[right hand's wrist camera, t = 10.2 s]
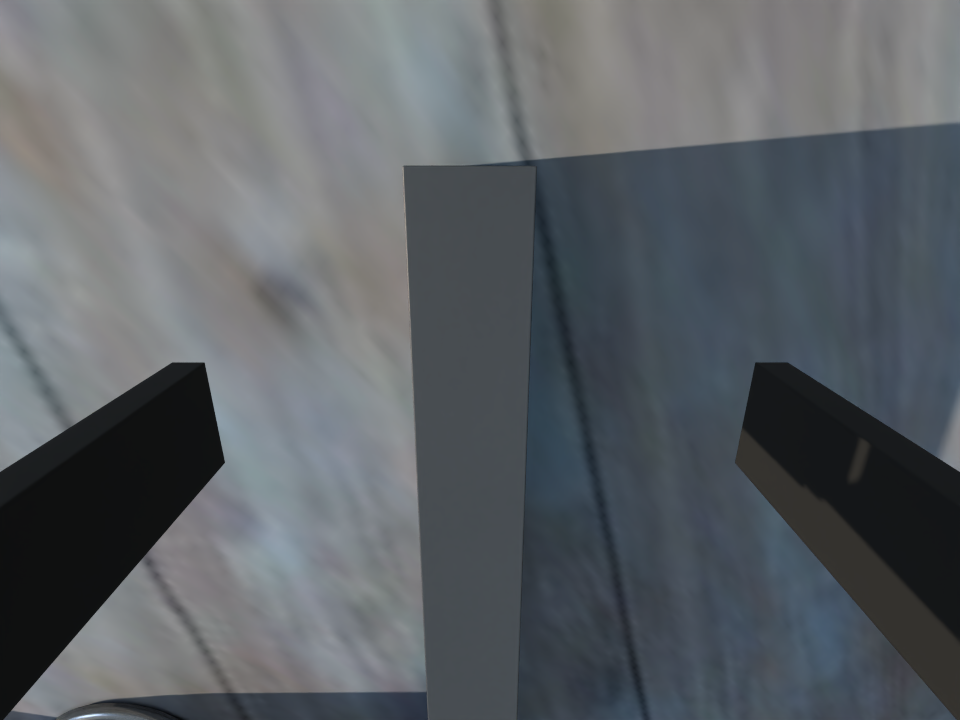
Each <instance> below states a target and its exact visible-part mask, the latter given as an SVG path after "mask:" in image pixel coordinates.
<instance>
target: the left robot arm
mask: <svg viewBox="0 0 960 720" xmlns="http://www.w3.org/2000/svg"><path fill="white" fill-rule="evenodd" d="M55 720H179V719H177V718H175V717H173V716H171V715H169V714H166V713H164V712H161V711H158V710H155V709H152V708H148V707H144V706H139V705H133V704H125V703H100V704H92V705H87V706H83V707H79V708H76V709H73V710H71V711H68V712H66V713H64V714H63V715H61V716H59V717H58V718H56V719H55Z"/></svg>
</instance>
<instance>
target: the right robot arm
mask: <svg viewBox="0 0 960 720" xmlns="http://www.w3.org/2000/svg"><path fill="white" fill-rule="evenodd" d="M224 463H225V461H224V456H223V451H222V446H221V441H220V436H219V431H218V426H217V421H216V417H215V412H214V407H213V402H212V397H211V392H210V387H209V382H208V377H207V372H206V368H205V363H171V364H169V365H168V366H166V367H165V368H163V369H161V370H160V371H158V372H157V373H155V374H154V375H152V376H150V377H149V378H147V379H146V380H144V381H143V382H141V383H139V384H138V385H136V386H135V387H133V388H132V389H130V390H128V391H127V392H125V393H124V394H122V395H121V396H119V397H117V398H116V399H114V400H113V401H111V402H110V403H108V404H106V405H105V406H103V407H102V408H100V409H99V410H97V411H95V412H94V413H92V414H91V415H89V416H88V417H86V418H84V419H83V420H81V421H80V422H78V423H77V424H75V425H73V426H72V427H70V428H69V429H67V430H66V431H64V432H62V433H61V434H59V435H58V436H56V437H55V438H53V439H51V440H50V441H48V442H47V443H45V444H44V445H42V446H40V447H39V448H37V449H36V450H34V451H33V452H31V453H29V454H28V455H26V456H25V457H23V458H22V459H20V460H18V461H17V462H15V463H14V464H12V465H11V466H9V467H7V468H6V469H4V470H3V471H1V472H0V720H3V719H4V718H5V717H6V716H7V715H8V714H9V712H10V711H11V710H12V709H13V708H14V707H15V705H16V704H17V703H18V702H19V701H20V700H21V698H22V697H23V696H24V695H25V694H26V693H27V692H28V690H29V689H30V688H31V687H32V686H33V685H34V683H35V682H36V681H37V680H38V679H39V678H40V676H41V675H42V674H43V673H44V672H45V671H46V670H47V668H48V667H49V666H50V665H51V664H52V663H53V661H54V660H55V659H56V658H57V657H58V656H59V654H60V653H61V652H62V651H63V650H64V649H65V647H66V646H67V645H68V644H69V643H70V642H71V641H72V639H73V638H74V637H75V636H76V635H77V634H78V632H79V631H80V630H81V629H82V628H83V627H84V625H85V624H86V623H87V622H88V621H89V620H90V619H91V617H92V616H93V615H94V614H95V613H96V612H97V610H98V609H99V608H100V607H101V606H102V605H103V603H104V602H105V601H106V600H107V599H108V598H109V596H110V595H111V594H112V593H113V592H114V591H115V590H116V588H117V587H118V586H119V585H120V584H121V583H122V581H123V580H124V579H125V578H126V577H127V576H128V574H129V573H130V572H131V571H132V570H133V569H134V567H135V566H136V565H137V564H138V563H139V562H140V561H141V559H142V558H143V557H144V556H145V555H146V554H147V552H148V551H149V550H150V549H151V548H152V547H153V545H154V544H155V543H156V542H157V541H158V540H159V539H160V537H161V536H162V535H163V534H164V533H165V532H166V530H167V529H168V528H169V527H170V526H171V525H172V523H173V522H174V521H175V520H176V519H177V518H178V516H179V515H180V514H181V513H182V512H183V511H184V510H185V508H186V507H187V506H188V505H189V504H190V503H191V501H192V500H193V499H194V498H195V497H196V496H197V494H198V493H199V492H200V491H201V490H202V489H203V487H204V486H205V485H206V484H207V483H208V482H209V481H210V479H211V478H212V477H213V476H214V475H215V474H216V472H217V471H218V470H219V469H220V468H221V467H222V465H223V464H224ZM735 463H736V464H737V465H738V467H739V468H740V469H741V470H742V471H743V472H744V474H745V475H746V476H747V477H748V478H749V479H750V481H751V482H752V483H753V484H754V485H755V486H756V487H757V489H758V490H759V491H760V492H761V493H762V494H763V496H764V497H765V498H766V499H767V500H768V501H769V503H770V504H771V505H772V506H773V507H774V508H775V510H776V511H777V512H778V513H779V514H780V515H781V516H782V518H783V519H784V520H785V521H786V522H787V523H788V525H789V526H790V527H791V528H792V529H793V530H794V532H795V533H796V534H797V535H798V536H799V537H800V539H801V540H802V541H803V542H804V543H805V544H806V545H807V547H808V548H809V549H810V550H811V551H812V552H813V554H814V555H815V556H816V557H817V558H818V559H819V561H820V562H821V563H822V564H823V565H824V566H825V567H826V569H827V570H828V571H829V572H830V573H831V574H832V576H833V577H834V578H835V579H836V580H837V581H838V583H839V584H840V585H841V586H842V587H843V588H844V590H845V591H846V592H847V593H848V594H849V595H850V596H851V598H852V599H853V600H854V601H855V602H856V603H857V605H858V606H859V607H860V608H861V609H862V610H863V612H864V613H865V614H866V615H867V616H868V617H869V619H870V620H871V621H872V622H873V623H874V624H875V625H876V627H877V628H878V629H879V630H880V631H881V632H882V634H883V635H884V636H885V637H886V638H887V639H888V641H889V642H890V643H891V644H892V645H893V646H894V647H895V649H896V650H897V651H898V652H899V653H900V654H901V656H902V657H903V658H904V659H905V660H906V661H907V663H908V664H909V665H910V666H911V667H912V668H913V670H914V671H915V672H916V673H917V674H918V675H919V676H920V678H921V679H922V680H923V681H924V682H925V683H926V685H927V686H928V687H929V688H930V689H931V690H932V692H933V693H934V694H935V695H936V696H937V697H938V698H939V700H940V701H941V702H942V703H943V704H944V705H945V707H946V708H947V709H948V710H949V711H950V712H951V714H952V715H953V716H954V717H955V718H956V719H957V720H960V472H959V471H957V470H956V469H954V468H953V467H951V466H949V465H948V464H946V463H945V462H943V461H942V460H940V459H938V458H937V457H935V456H934V455H932V454H931V453H929V452H927V451H926V450H924V449H923V448H921V447H920V446H918V445H916V444H915V443H913V442H912V441H910V440H909V439H907V438H905V437H904V436H902V435H901V434H899V433H898V432H896V431H894V430H893V429H891V428H890V427H888V426H887V425H885V424H883V423H882V422H880V421H879V420H877V419H876V418H874V417H872V416H871V415H869V414H868V413H866V412H865V411H863V410H861V409H860V408H858V407H857V406H855V405H854V404H852V403H850V402H849V401H847V400H846V399H844V398H843V397H841V396H839V395H838V394H836V393H835V392H833V391H832V390H830V389H828V388H827V387H825V386H824V385H822V384H821V383H819V382H817V381H816V380H814V379H813V378H811V377H810V376H808V375H806V374H805V373H803V372H802V371H800V370H799V369H797V368H795V367H794V366H792V365H791V364H789V363H755V368H754V372H753V377H752V382H751V387H750V392H749V397H748V402H747V407H746V412H745V417H744V421H743V426H742V431H741V436H740V441H739V446H738V451H737V456H736V461H735Z"/></svg>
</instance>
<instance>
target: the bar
mask: <svg viewBox="0 0 960 720" xmlns="http://www.w3.org/2000/svg"><path fill="white" fill-rule="evenodd" d="M536 174H537V167H536V166H403V188H404V209H405V231H406V253H407V274H408V296H409V318H410V339H411V361H412V383H413V404H414V426H415V448H416V469H417V491H418V513H419V534H420V556H421V578H422V599H423V621H424V643H425V664H426V686H427V708H428V720H517V704H518V677H519V649H520V621H521V593H522V565H523V537H524V509H525V481H526V453H527V425H528V397H529V369H530V342H531V314H532V286H533V258H534V230H535V202H536Z"/></svg>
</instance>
